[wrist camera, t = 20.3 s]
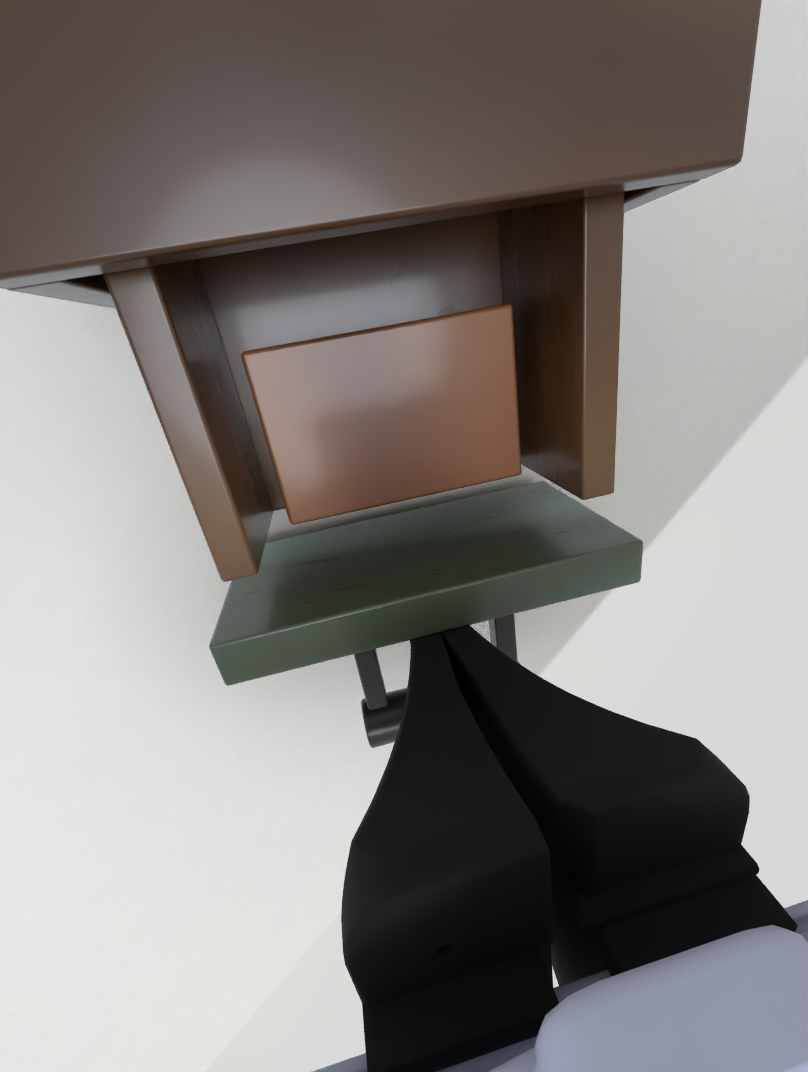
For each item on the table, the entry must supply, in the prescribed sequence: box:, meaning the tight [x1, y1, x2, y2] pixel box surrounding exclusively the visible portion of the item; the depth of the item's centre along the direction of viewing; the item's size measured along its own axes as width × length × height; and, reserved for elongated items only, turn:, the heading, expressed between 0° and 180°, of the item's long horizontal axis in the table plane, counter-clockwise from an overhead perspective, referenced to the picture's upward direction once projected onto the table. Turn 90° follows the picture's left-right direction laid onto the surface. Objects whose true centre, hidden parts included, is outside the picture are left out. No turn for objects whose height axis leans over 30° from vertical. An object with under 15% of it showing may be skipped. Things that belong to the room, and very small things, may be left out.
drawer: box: [103, 191, 643, 748], centre depth 12 cm, size 17×10×5 cm, turn 9°
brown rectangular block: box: [241, 304, 521, 525], centre depth 12 cm, size 6×4×2 cm, turn 99°
